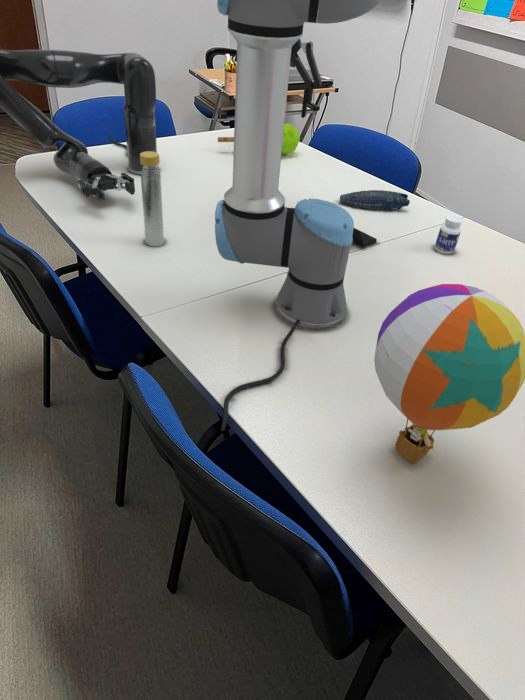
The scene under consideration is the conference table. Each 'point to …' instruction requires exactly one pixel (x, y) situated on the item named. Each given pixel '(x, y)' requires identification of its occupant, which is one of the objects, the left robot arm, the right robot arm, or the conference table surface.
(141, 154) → the cap
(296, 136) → the decorative tree
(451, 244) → the pill bottle
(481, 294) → the toy
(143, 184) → the bottle
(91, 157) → the left robot arm
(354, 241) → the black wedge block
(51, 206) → the conference table surface
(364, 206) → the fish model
